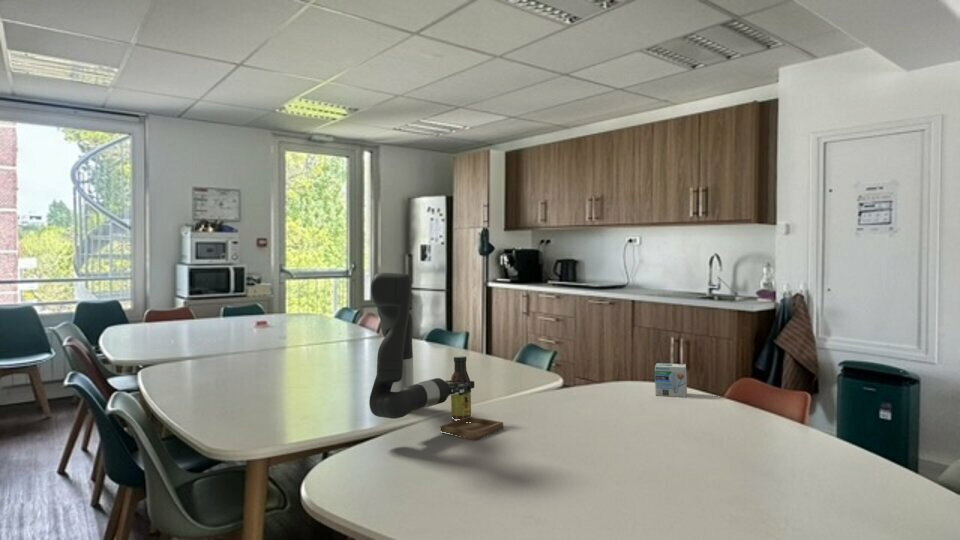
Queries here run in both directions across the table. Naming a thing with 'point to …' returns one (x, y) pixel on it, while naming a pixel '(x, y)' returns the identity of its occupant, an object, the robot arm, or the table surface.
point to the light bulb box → (670, 380)
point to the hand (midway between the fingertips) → (465, 383)
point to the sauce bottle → (458, 403)
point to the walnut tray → (472, 427)
